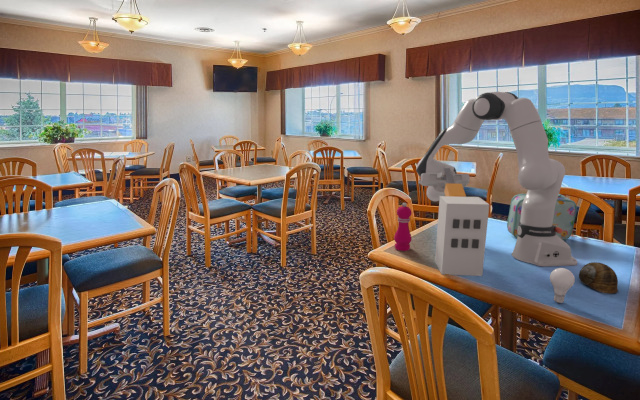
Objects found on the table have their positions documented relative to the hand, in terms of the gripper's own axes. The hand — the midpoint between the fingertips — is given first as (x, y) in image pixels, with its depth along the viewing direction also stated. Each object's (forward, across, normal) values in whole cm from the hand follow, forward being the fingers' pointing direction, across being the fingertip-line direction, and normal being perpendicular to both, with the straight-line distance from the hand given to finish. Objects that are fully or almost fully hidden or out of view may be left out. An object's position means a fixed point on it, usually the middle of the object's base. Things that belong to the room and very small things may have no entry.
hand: (448, 173), depth 160 cm
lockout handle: (+2, 0, +7) cm, 8 cm away
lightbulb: (+27, +24, +52) cm, 63 cm away
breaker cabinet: (+6, 0, +40) cm, 40 cm away
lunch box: (-29, +46, +20) cm, 58 cm away
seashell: (+16, +42, +46) cm, 64 cm away
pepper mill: (-12, -18, +30) cm, 37 cm away
